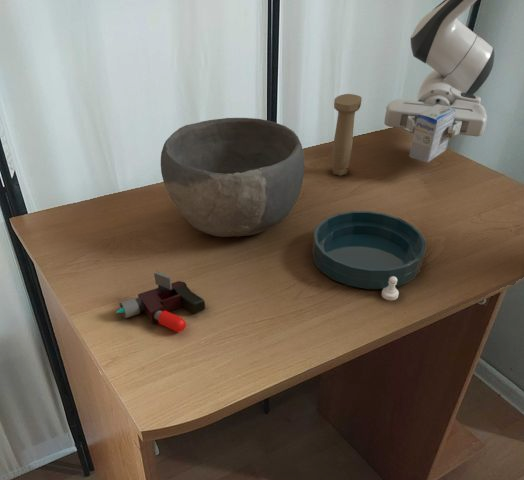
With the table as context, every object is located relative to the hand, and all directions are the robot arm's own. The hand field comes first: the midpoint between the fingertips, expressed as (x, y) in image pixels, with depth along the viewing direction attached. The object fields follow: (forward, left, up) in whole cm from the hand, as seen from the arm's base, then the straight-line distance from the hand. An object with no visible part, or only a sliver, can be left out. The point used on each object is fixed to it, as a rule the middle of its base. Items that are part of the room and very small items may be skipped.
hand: (432, 131), depth 106 cm
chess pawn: (+2, +43, -10) cm, 44 cm away
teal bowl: (+7, +34, -10) cm, 36 cm away
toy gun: (+34, +58, -10) cm, 68 cm away
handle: (+17, +3, -10) cm, 20 cm away
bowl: (+32, +29, -10) cm, 44 cm away
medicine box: (0, -1, -5) cm, 5 cm away
